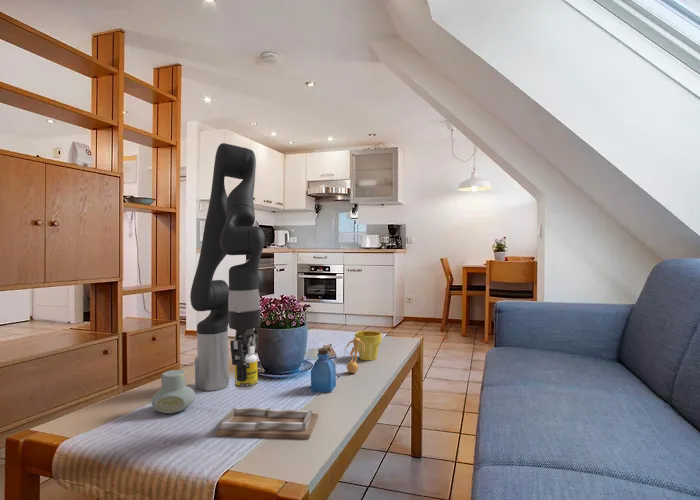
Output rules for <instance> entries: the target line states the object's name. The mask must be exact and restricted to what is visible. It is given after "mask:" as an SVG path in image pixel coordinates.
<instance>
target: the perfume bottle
mask: <svg viewBox="0 0 700 500" xmlns="http://www.w3.org/2000/svg"><path fill="white" fill-rule="evenodd" d="M329 357H330V353H329V348H327V347H325V348H323V347H322V348H318V349H317V359H316V360H315V361H314V363H313V366H312V368H311V370H310V391H311V392H316V393H317V392H318V393H332V392H333V391H334V389H335V388H336V386H337V381H336V379H337V377H336V376H337V373H336V372H337V371H336V367H337V366H336V364H335V362H334V361H333V359H332V358H329Z"/></svg>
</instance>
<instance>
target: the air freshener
mask: <svg viewBox="0 0 700 500" xmlns="http://www.w3.org/2000/svg"><path fill="white" fill-rule="evenodd" d="M195 401H196V392H195V391H194V389H193V388H191V387H190V386H189V385H186V372H185V371H184V370H181V369H171V370H168V371H164V372H163V373H162V374H161V388H160V389H158V391H156V392H155V393H154V395H153V396H152V398H151V401H150V402H151V406H152V407H153V408H154V410H156V411H157V412H160V413H163V414H166V413H174V414H178V413H180V412H183V411H185V410H186V409H188V408H190V406H192V404H194V402H195ZM177 412H178V413H177Z"/></svg>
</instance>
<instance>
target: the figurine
mask: <svg viewBox="0 0 700 500" xmlns="http://www.w3.org/2000/svg"><path fill="white" fill-rule="evenodd" d="M352 343H353V347H352V349H351V350H350V352H349V353H350V354H349V355H350V356H351V359H350V360H349V362H348V363H347V364H346V369H347V372H349V373H350V374H355V373H357V372H358V370H359V364H358V363H357V358H358V354H359V352H358V351H359V348H358V346H359V344H360V343H361V344H362V345H363V349H364V350H363V353H365V347H364V346H365V345H364V343H363V342H361V341H360V339H359V338H356V337H355V336H354V337H353V339H352V340H350V341H349V342H348V343H347V344H346V346H345V348H344V350H346V349H347V348H348V347H349V346H350V344H352ZM354 357H355V358H354Z"/></svg>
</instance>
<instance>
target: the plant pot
mask: <svg viewBox="0 0 700 500" xmlns="http://www.w3.org/2000/svg"><path fill="white" fill-rule="evenodd" d="M382 336H383V335H382V332H380V331H376V330H359V331H357V332H356V331H355V333H354V337H356V338H359V339H360V341H361V342H363V343H364V345H365V346H364V347H365V353H363V350H364V349H363V345H362V344H361V343H360V344H359V346H358V348H359V351H358V356H359V357H358V358H359V359H360V360H361V361H366V362H367V361H375V360H377V358H378V353H379V351H380V350H379V349H380V345H381V344H382V341H383V340H382V339H383V338H382Z"/></svg>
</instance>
